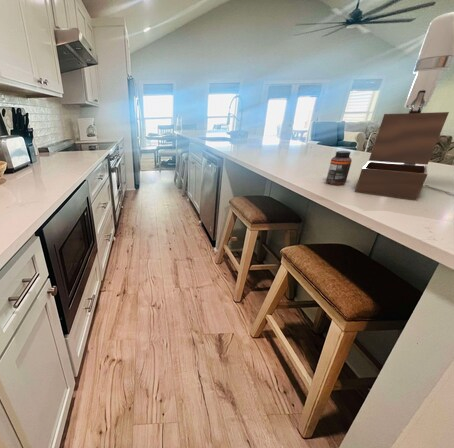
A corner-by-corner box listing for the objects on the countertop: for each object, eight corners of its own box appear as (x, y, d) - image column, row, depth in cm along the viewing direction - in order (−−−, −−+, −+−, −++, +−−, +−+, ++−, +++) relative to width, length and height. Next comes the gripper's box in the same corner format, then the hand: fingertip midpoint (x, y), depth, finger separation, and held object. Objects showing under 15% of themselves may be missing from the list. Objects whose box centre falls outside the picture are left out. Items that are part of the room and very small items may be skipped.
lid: (449, 112, 70) (448, 112, 71) (384, 113, 79) (384, 114, 80) (427, 164, 75) (427, 164, 75) (368, 160, 84) (368, 160, 84)
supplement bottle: (339, 181, 91) (347, 150, 86) (349, 185, 85) (358, 152, 80) (322, 181, 91) (329, 150, 86) (331, 185, 86) (339, 152, 81)
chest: (416, 200, 69) (427, 174, 66) (354, 191, 78) (361, 168, 75) (417, 189, 78) (427, 165, 75) (361, 182, 87) (368, 161, 84)
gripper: (415, 70, 79) (394, 129, 87) (413, 65, 70) (390, 132, 77) (449, 66, 74) (424, 129, 82) (452, 60, 65) (423, 133, 72)
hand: (407, 131), depth 79 cm, fingers closed
